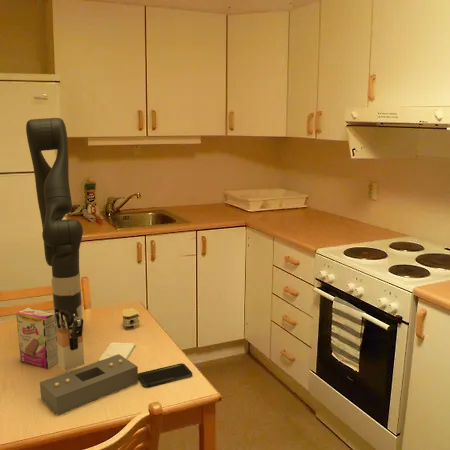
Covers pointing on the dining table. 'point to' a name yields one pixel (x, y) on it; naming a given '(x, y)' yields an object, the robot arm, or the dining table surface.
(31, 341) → the candy bar box
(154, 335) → the dining table surface
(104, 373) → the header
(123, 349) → the external hard drive
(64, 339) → the plug
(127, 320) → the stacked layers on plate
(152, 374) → the phone
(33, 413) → the dining table surface
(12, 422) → the dining table surface
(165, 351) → the dining table surface
